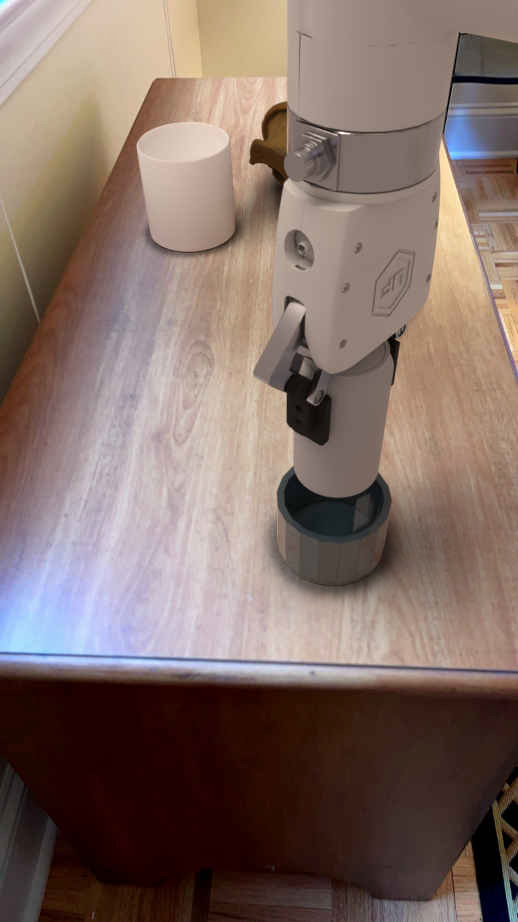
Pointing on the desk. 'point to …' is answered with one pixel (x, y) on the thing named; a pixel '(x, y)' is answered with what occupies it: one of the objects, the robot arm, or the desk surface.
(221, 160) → the cup
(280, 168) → the brown looped sculpture
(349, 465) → the beverage can
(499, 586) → the desk surface
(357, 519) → the holder
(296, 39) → the robot arm
